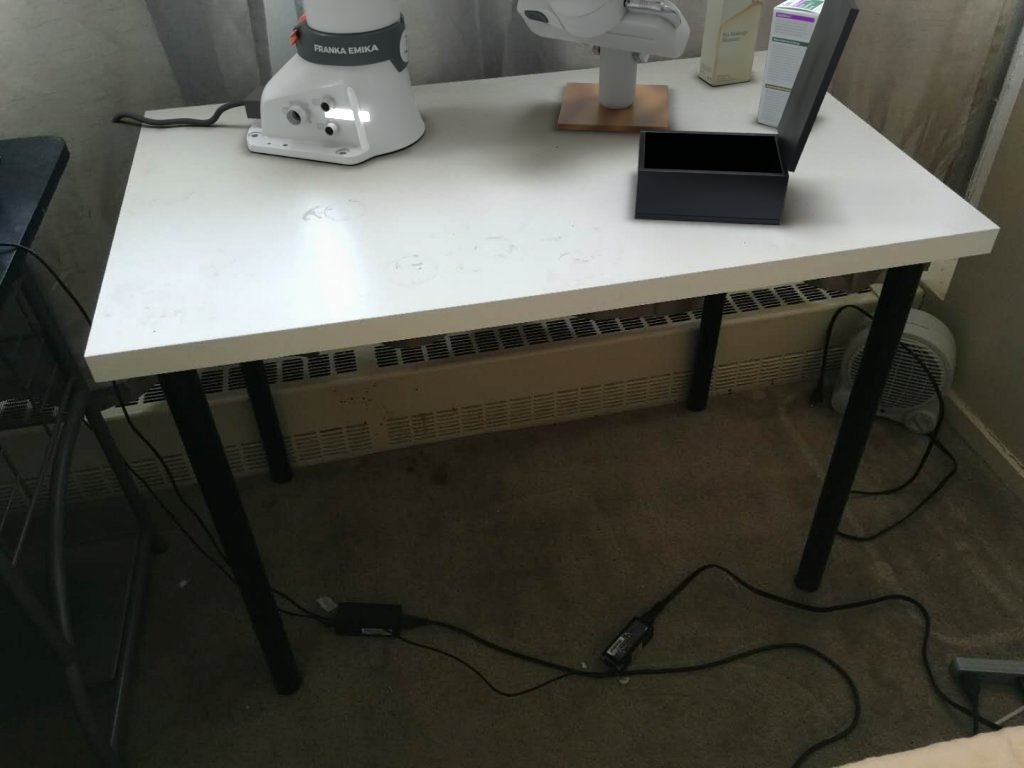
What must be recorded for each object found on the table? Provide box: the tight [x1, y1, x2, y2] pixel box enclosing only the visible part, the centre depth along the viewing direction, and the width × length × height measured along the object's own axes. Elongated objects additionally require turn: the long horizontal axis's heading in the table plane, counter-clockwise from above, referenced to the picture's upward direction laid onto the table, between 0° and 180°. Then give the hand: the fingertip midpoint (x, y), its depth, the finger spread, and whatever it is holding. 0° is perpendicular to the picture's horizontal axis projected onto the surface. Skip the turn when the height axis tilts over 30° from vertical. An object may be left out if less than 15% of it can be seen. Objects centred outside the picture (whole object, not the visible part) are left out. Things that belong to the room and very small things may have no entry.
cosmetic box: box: [698, 0, 764, 87], centre depth 118 cm, size 6×4×12 cm
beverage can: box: [598, 46, 638, 109], centre depth 110 cm, size 5×5×12 cm
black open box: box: [634, 129, 790, 226], centre depth 93 cm, size 15×10×6 cm
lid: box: [776, 0, 860, 173], centre depth 85 cm, size 16×10×1 cm
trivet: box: [556, 82, 669, 133], centre depth 114 cm, size 14×14×1 cm
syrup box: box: [756, 0, 825, 129], centre depth 106 cm, size 6×6×14 cm
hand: (620, 53), depth 110 cm, fingers closed on beverage can, 5 cm apart
